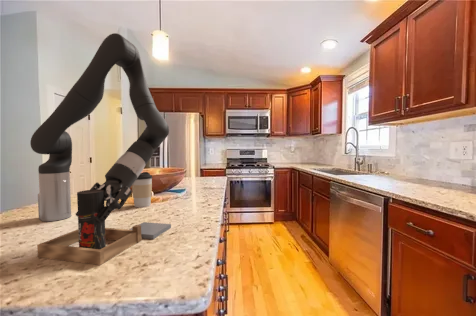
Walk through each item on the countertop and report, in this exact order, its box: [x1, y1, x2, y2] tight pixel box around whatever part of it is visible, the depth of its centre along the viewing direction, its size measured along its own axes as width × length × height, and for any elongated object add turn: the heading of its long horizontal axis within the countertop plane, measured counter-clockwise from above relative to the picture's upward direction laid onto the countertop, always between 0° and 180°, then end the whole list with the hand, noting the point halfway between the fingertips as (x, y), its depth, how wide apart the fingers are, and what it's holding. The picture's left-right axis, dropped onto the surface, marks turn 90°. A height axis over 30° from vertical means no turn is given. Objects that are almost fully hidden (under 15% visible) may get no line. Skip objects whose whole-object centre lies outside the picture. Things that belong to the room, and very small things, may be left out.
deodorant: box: [76, 189, 107, 249], centre depth 62 cm, size 6×6×15 cm
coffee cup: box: [131, 171, 153, 208], centre depth 108 cm, size 9×9×15 cm
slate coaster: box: [128, 221, 172, 240], centre depth 74 cm, size 10×10×1 cm
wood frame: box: [36, 224, 143, 266], centre depth 62 cm, size 19×14×4 cm
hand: (88, 219), depth 61 cm, fingers open, 8 cm apart
